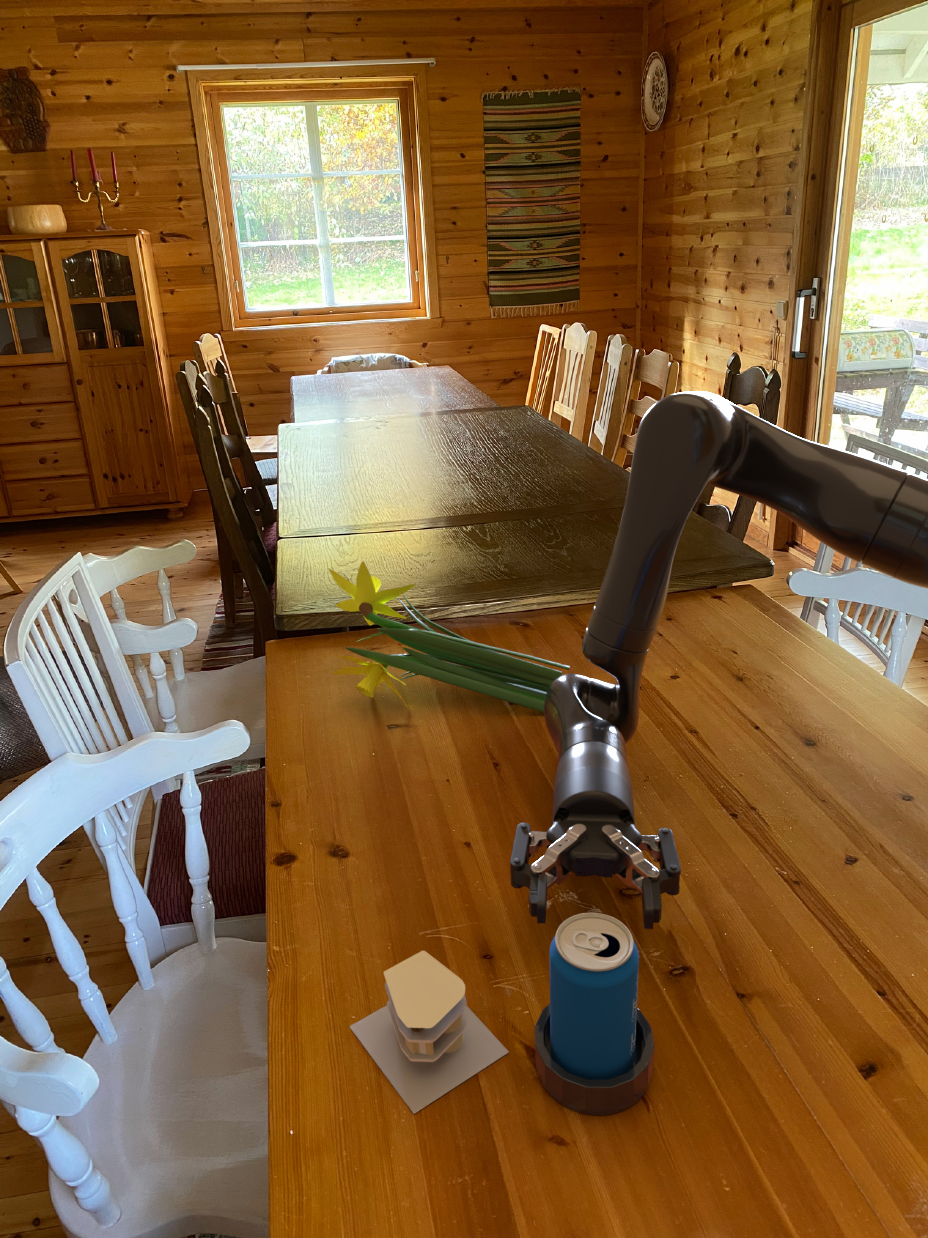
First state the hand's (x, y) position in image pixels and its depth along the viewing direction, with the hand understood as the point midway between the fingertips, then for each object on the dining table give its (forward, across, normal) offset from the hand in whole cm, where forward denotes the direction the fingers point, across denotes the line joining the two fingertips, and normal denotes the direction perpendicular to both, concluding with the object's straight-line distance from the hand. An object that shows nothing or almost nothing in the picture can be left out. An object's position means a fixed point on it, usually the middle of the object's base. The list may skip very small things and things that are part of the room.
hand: (595, 918), depth 73 cm
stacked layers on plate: (+5, -13, +9) cm, 17 cm away
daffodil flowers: (-52, -19, +9) cm, 56 cm away
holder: (+6, 0, +9) cm, 11 cm away
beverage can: (+6, 0, +9) cm, 11 cm away
